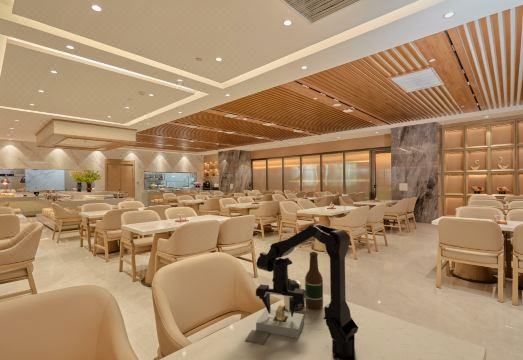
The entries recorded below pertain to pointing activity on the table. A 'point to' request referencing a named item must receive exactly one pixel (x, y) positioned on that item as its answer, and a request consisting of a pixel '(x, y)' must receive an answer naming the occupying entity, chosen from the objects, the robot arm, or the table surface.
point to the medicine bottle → (288, 299)
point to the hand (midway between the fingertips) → (280, 314)
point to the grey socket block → (280, 324)
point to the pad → (257, 337)
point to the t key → (280, 313)
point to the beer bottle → (314, 285)
